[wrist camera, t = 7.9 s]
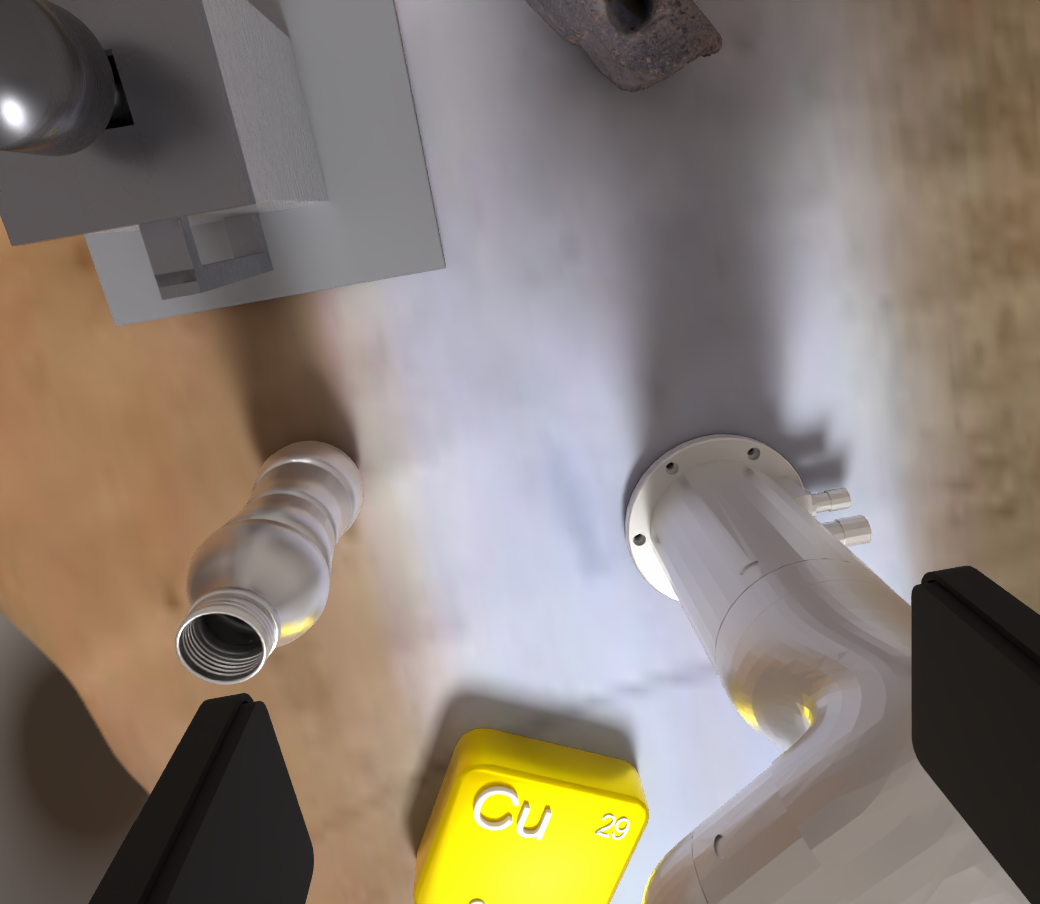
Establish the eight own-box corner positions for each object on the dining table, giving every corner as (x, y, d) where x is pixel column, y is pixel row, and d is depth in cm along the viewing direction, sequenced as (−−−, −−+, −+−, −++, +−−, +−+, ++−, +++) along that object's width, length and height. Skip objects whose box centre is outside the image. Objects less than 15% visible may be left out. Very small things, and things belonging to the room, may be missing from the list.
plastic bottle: (276, 420, 48) (146, 559, 29) (379, 446, 49) (318, 599, 30) (258, 509, 50) (124, 695, 31) (358, 533, 51) (287, 728, 32)
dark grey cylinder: (244, 75, 37) (14, -55, 19) (268, 167, 39) (76, 132, 20) (158, 90, 37) (-159, -25, 19) (185, 182, 39) (-85, 160, 20)
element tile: (410, 866, 61) (405, 920, 56) (464, 719, 56) (463, 764, 52) (582, 901, 63) (590, 955, 58) (646, 762, 59) (660, 808, 54)
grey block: (293, 35, 40) (174, -77, 24) (345, 255, 44) (272, 284, 28) (133, 63, 40) (-92, -30, 24) (199, 281, 44) (41, 324, 28)
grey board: (379, -74, 40) (376, -82, 39) (445, 266, 46) (445, 268, 44) (11, -9, 40) (-2, -15, 39) (124, 323, 46) (115, 326, 44)
